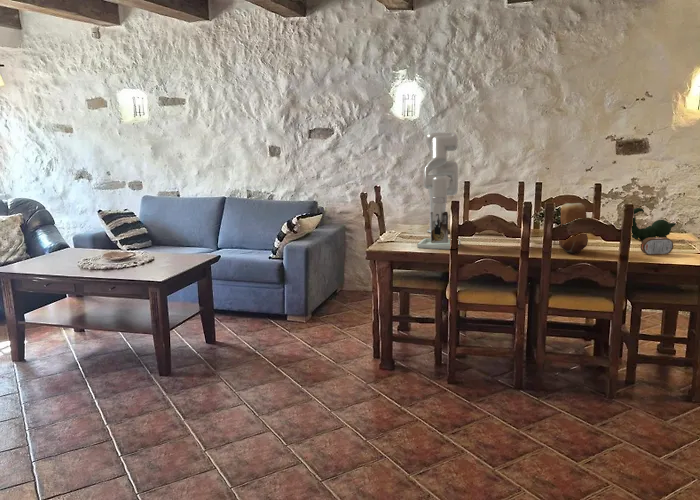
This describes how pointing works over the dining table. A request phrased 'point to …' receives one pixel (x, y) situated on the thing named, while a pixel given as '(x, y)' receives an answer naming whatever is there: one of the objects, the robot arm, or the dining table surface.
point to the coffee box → (444, 229)
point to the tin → (657, 246)
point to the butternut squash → (568, 215)
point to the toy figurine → (651, 228)
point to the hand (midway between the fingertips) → (439, 232)
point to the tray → (433, 244)
